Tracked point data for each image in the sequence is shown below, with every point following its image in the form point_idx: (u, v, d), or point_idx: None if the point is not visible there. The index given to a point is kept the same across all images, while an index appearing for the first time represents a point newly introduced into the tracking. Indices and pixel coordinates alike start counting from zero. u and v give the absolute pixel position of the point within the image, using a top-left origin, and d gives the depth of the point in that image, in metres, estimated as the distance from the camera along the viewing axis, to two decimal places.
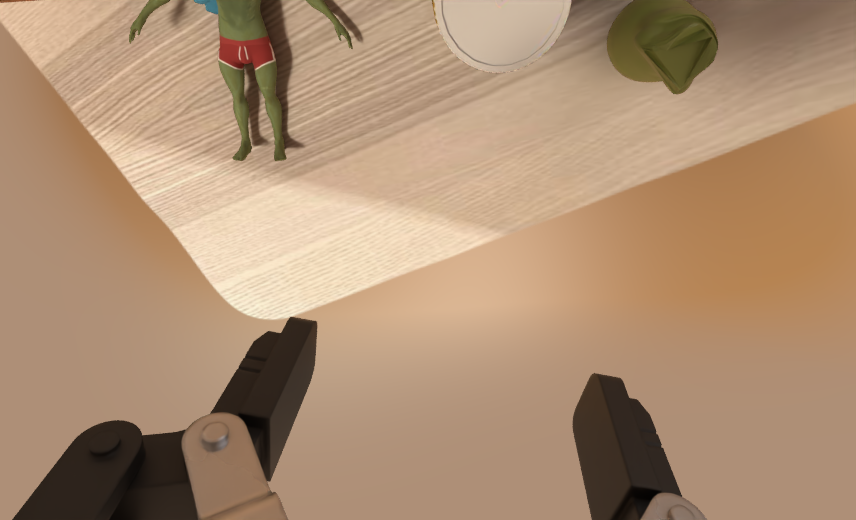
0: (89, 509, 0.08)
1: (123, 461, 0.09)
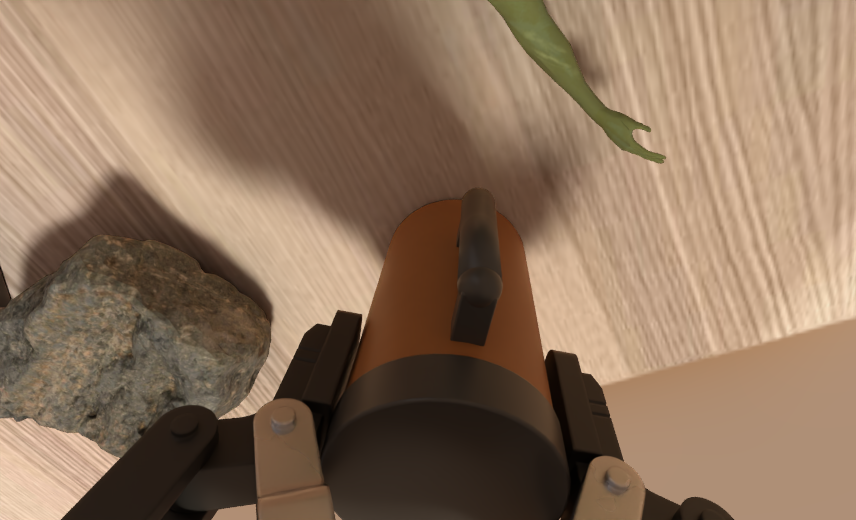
0: (161, 486, 0.09)
1: (202, 442, 0.10)
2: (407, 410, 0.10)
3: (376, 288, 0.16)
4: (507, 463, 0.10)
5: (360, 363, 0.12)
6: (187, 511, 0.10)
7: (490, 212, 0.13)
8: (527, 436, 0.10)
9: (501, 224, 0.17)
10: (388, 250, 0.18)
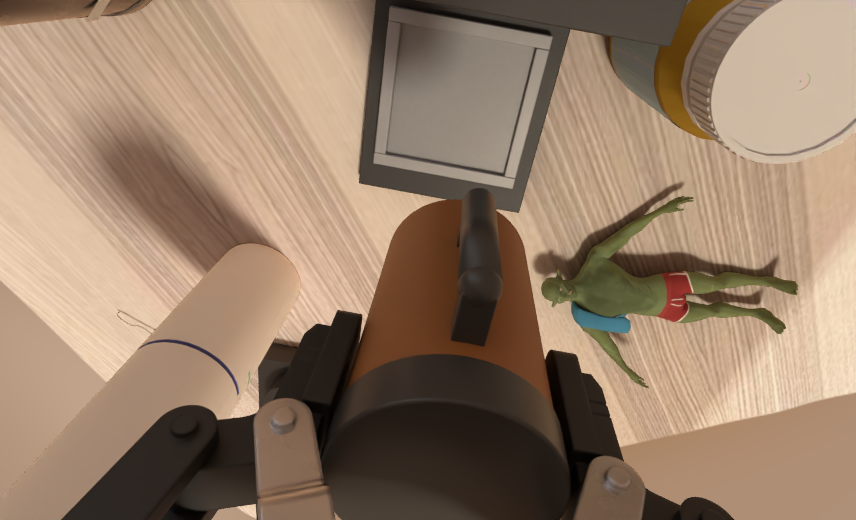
0: (161, 486, 0.09)
1: (202, 442, 0.10)
2: (407, 411, 0.10)
3: (376, 288, 0.16)
4: (507, 464, 0.10)
5: (360, 363, 0.12)
6: (187, 511, 0.10)
7: (490, 212, 0.13)
8: (527, 437, 0.10)
9: (501, 224, 0.17)
10: (388, 250, 0.18)
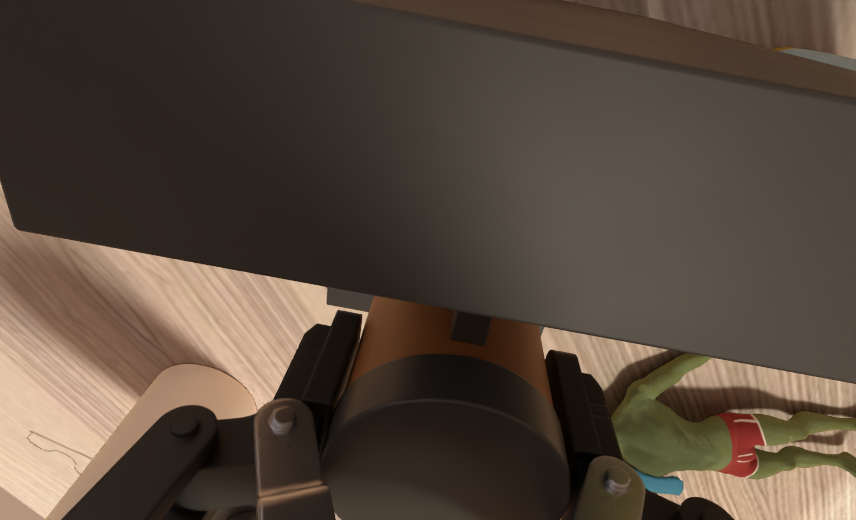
0: (160, 486, 0.09)
1: (202, 442, 0.10)
2: (407, 410, 0.10)
3: None
4: (507, 464, 0.10)
5: (360, 363, 0.12)
6: (187, 511, 0.10)
7: None
8: (527, 436, 0.10)
9: None
10: None
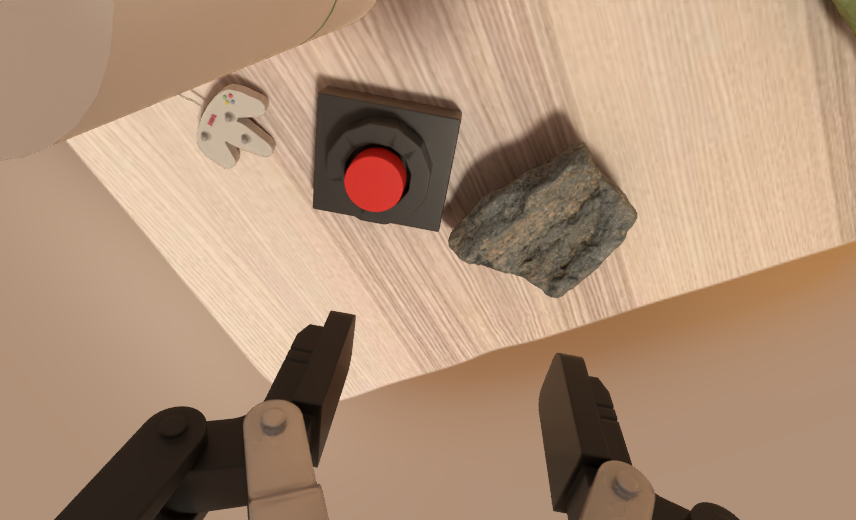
0: (150, 489, 0.09)
1: (191, 444, 0.10)
2: None
3: None
4: None
5: None
6: (177, 513, 0.10)
7: None
8: None
9: None
10: None
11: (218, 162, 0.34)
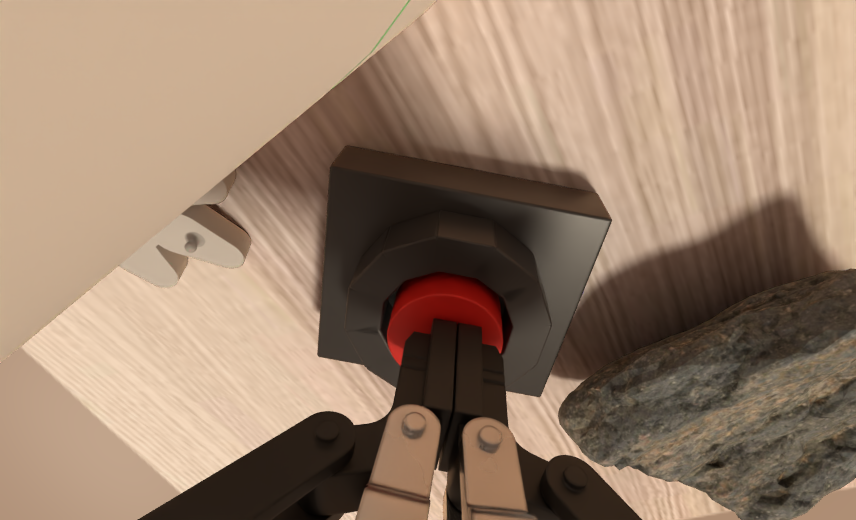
0: (289, 482, 0.09)
1: (346, 448, 0.10)
2: None
3: None
4: None
5: None
6: (309, 512, 0.11)
7: None
8: None
9: None
10: None
11: (146, 278, 0.19)
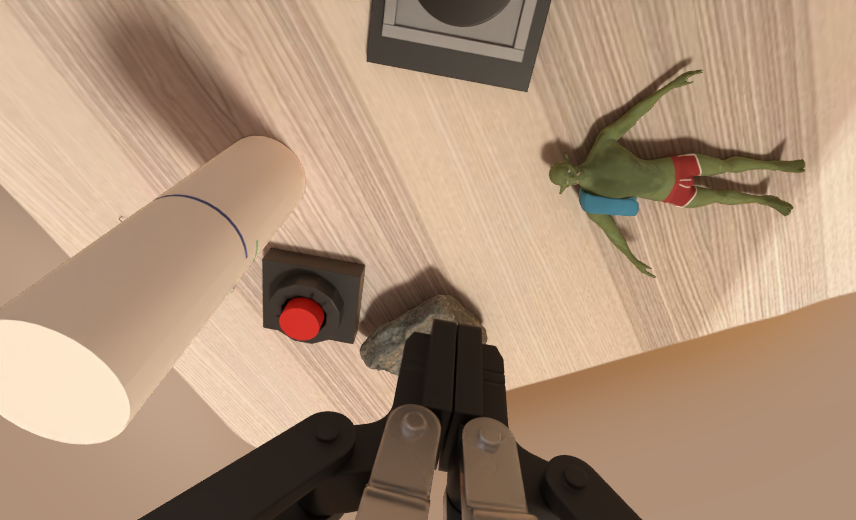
0: (289, 482, 0.09)
1: (346, 448, 0.10)
2: None
3: None
4: None
5: None
6: (309, 512, 0.11)
7: None
8: None
9: None
10: None
11: None
